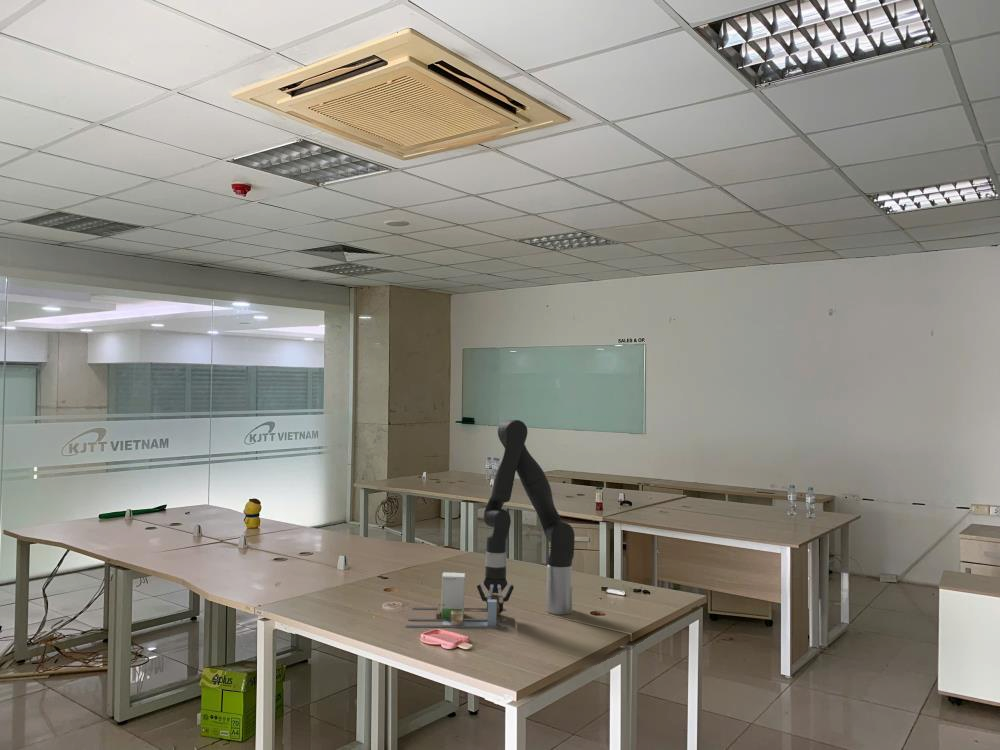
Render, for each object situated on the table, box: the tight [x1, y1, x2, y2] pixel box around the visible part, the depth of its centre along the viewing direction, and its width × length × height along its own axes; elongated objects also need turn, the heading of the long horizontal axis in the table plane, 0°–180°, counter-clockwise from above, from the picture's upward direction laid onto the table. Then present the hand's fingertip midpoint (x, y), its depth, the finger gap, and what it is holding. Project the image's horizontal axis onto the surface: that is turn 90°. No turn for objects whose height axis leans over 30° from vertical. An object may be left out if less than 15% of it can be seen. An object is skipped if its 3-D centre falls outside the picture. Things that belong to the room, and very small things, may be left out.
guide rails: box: [405, 606, 508, 629], centre depth 246 cm, size 34×22×2 cm, turn 91°
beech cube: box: [451, 610, 464, 625], centre depth 239 cm, size 4×4×4 cm
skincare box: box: [440, 571, 466, 618], centre depth 249 cm, size 8×7×16 cm
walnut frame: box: [435, 593, 500, 619], centre depth 250 cm, size 22×12×8 cm, turn 91°
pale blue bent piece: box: [441, 599, 497, 626], centre depth 240 cm, size 18×5×9 cm, turn 91°
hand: (494, 612), depth 250 cm, fingers closed on walnut frame, 3 cm apart
